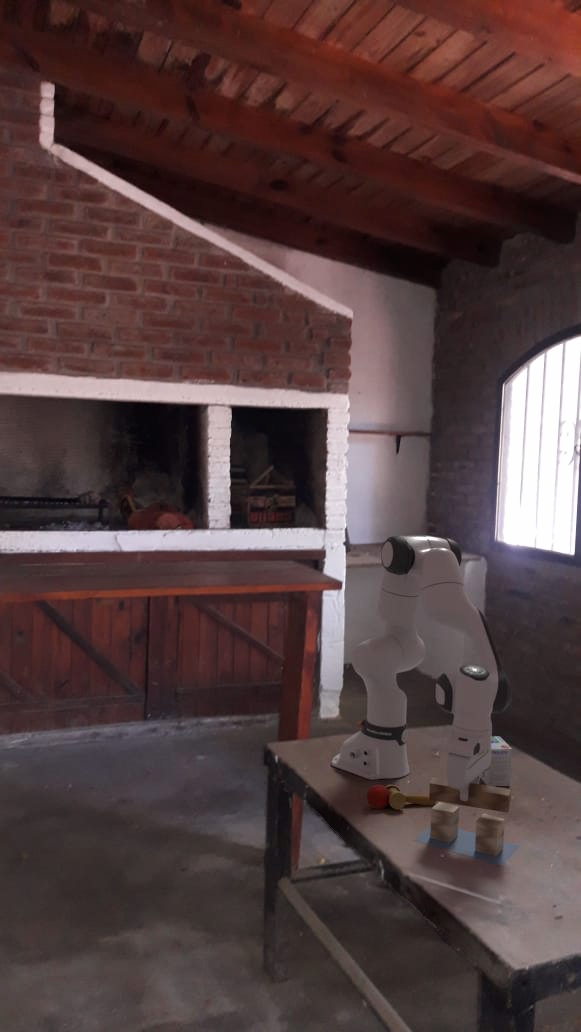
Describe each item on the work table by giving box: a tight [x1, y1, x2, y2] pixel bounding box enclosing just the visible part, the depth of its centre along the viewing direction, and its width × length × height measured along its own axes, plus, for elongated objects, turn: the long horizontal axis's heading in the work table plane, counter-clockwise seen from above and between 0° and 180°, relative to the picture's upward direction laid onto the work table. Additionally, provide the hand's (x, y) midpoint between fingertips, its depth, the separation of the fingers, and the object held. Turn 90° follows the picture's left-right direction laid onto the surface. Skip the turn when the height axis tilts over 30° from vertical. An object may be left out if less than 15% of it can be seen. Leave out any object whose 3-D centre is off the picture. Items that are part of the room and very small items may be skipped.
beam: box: [428, 776, 512, 813], centre depth 194 cm, size 18×4×4 cm, turn 70°
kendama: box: [366, 784, 437, 810], centre depth 215 cm, size 8×6×18 cm
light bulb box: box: [480, 735, 513, 787], centre depth 235 cm, size 11×7×11 cm, turn 5°
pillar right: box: [475, 813, 506, 857], centre depth 191 cm, size 5×5×7 cm
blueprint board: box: [413, 824, 519, 867], centre depth 195 cm, size 21×12×1 cm, turn 58°
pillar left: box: [430, 801, 460, 843], centre depth 197 cm, size 5×5×7 cm
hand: (469, 795), depth 194 cm, fingers closed on beam, 4 cm apart
